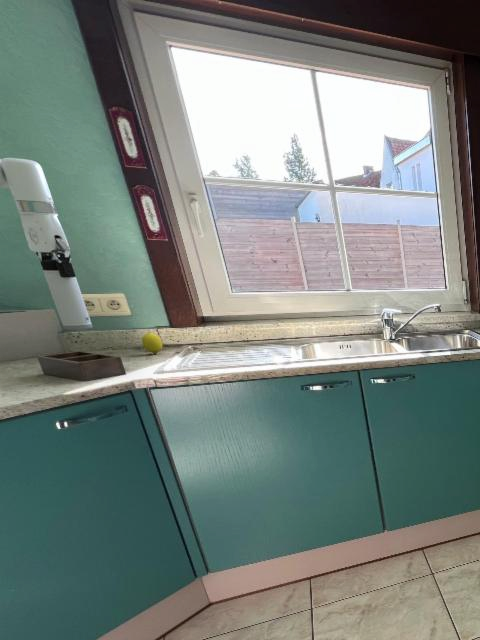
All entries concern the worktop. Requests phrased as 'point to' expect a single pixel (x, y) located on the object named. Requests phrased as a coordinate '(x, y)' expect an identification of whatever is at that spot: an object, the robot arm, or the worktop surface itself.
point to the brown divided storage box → (81, 365)
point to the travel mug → (66, 297)
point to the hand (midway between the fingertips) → (60, 276)
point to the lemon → (152, 343)
